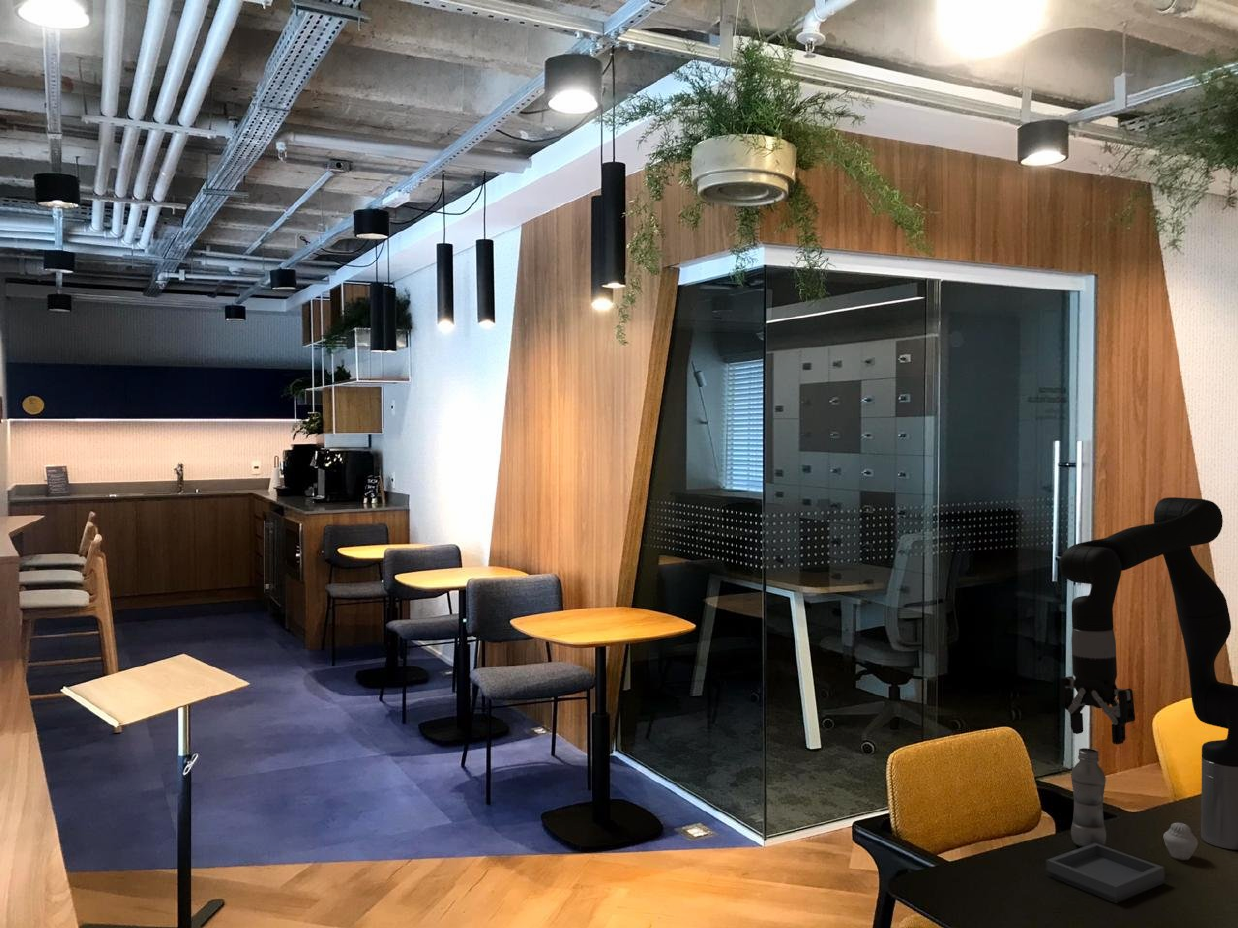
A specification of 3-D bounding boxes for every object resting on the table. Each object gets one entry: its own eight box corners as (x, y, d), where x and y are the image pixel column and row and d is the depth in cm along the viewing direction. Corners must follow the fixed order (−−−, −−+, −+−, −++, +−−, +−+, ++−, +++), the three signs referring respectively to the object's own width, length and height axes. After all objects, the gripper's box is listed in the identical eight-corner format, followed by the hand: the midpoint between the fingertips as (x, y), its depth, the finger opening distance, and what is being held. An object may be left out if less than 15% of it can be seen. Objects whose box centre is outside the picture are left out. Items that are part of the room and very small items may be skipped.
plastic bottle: (1110, 853, 201) (1110, 756, 201) (1074, 851, 202) (1075, 754, 202) (1101, 841, 207) (1102, 747, 207) (1067, 839, 209) (1067, 745, 208)
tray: (1095, 857, 199) (1095, 842, 199) (1164, 882, 187) (1164, 867, 187) (1046, 875, 191) (1046, 859, 191) (1115, 903, 179) (1115, 886, 179)
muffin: (1157, 855, 200) (1157, 821, 200) (1171, 848, 204) (1171, 814, 204) (1189, 865, 195) (1190, 830, 195) (1203, 858, 199) (1203, 823, 199)
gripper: (1141, 655, 180) (1145, 743, 181) (1074, 644, 193) (1078, 726, 193) (1114, 661, 177) (1118, 751, 177) (1048, 649, 190) (1051, 732, 190)
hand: (1097, 738), depth 185 cm, fingers open, 8 cm apart
